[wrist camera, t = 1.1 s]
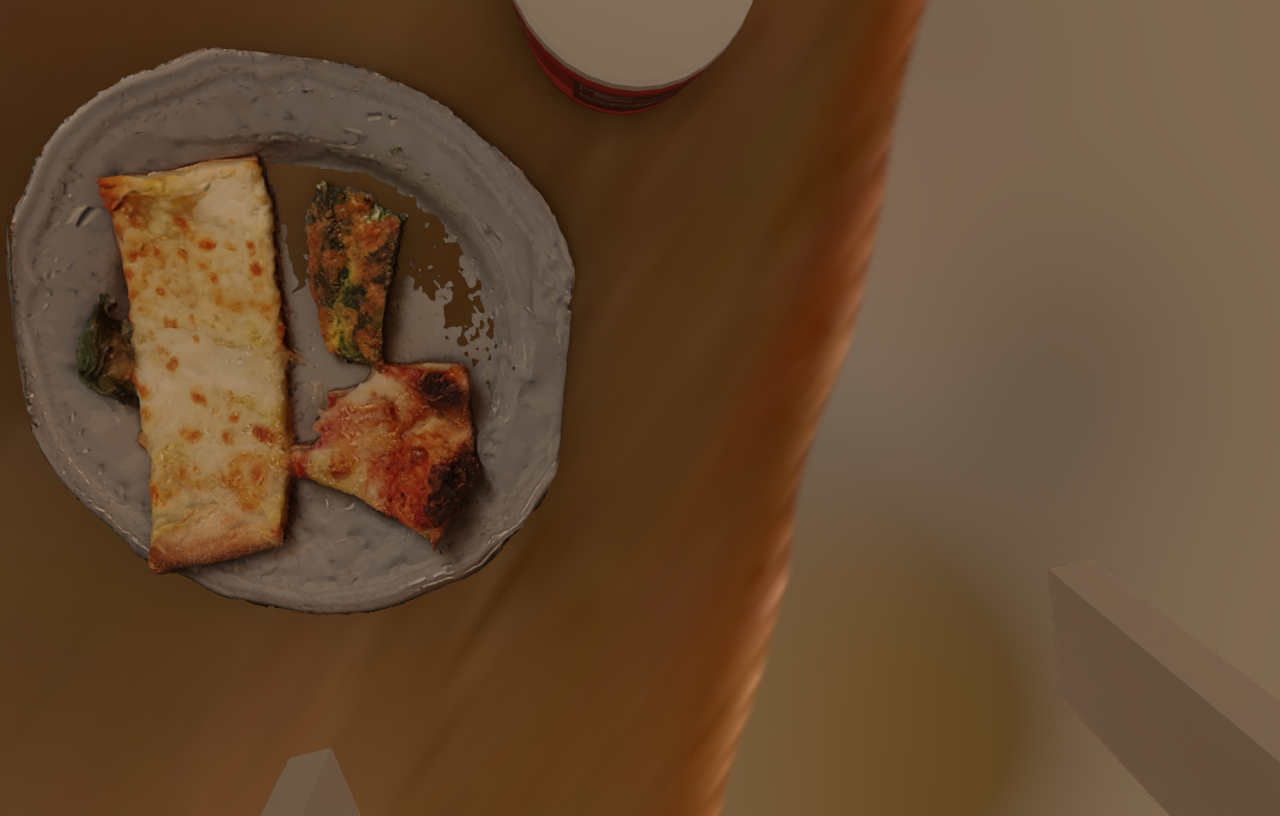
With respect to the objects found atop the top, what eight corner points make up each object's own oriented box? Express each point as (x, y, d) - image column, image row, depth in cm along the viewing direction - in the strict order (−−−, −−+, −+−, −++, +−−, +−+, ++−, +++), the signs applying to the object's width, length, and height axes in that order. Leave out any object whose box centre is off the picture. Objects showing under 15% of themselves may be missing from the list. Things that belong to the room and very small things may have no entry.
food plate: (546, 608, 40) (543, 646, 37) (73, 579, 38) (23, 616, 35) (591, 100, 34) (591, 88, 31) (28, 29, 32) (-38, 9, 28)
